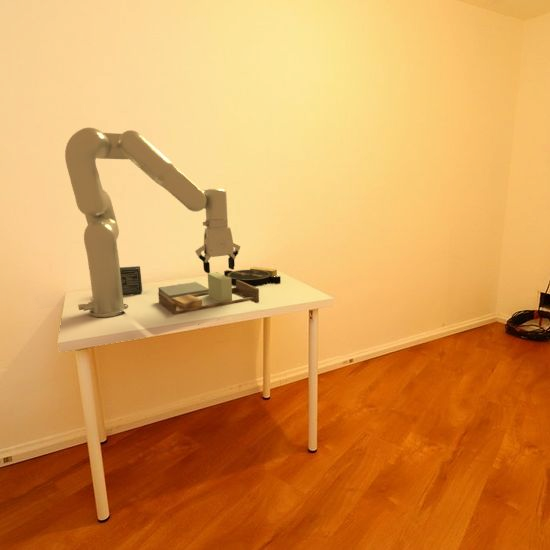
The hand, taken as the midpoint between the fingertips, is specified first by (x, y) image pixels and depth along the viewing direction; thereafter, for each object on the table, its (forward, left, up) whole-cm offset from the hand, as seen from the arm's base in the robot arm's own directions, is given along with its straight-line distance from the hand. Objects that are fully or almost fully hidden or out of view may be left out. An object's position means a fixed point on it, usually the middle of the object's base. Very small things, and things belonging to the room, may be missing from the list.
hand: (219, 270), depth 141 cm
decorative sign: (+27, +23, -13) cm, 38 cm away
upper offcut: (-13, 0, -11) cm, 17 cm away
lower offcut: (-13, 0, -13) cm, 18 cm away
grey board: (-8, +17, -12) cm, 22 cm away
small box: (-26, +32, -12) cm, 43 cm away
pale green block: (0, 0, -12) cm, 12 cm away
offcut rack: (-4, 0, -12) cm, 13 cm away
